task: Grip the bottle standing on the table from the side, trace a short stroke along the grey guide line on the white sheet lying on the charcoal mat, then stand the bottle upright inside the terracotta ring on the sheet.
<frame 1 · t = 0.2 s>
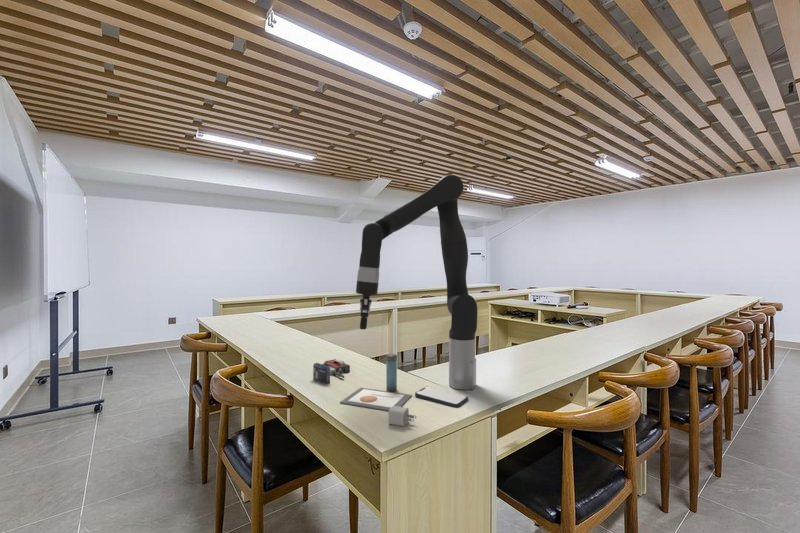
hand: (363, 327, 123), 22 cm above the table, tool pointing down, fingers open, 8 cm apart
writing mat: (376, 399, 115), on the table
mini dv tape: (321, 381, 133), on the table
bottle: (391, 389, 124), on the table
usb wall charger: (403, 424, 97), on the table
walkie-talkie: (338, 373, 144), on the table
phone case: (441, 399, 116), on the table
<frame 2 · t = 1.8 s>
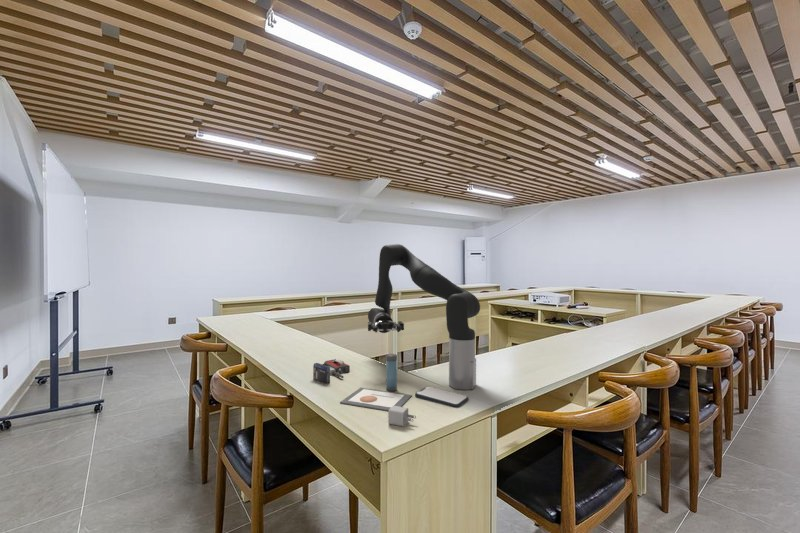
hand: (387, 329, 134), 19 cm above the table, tool horizontal, fingers open, 8 cm apart
nothing on the table moved.
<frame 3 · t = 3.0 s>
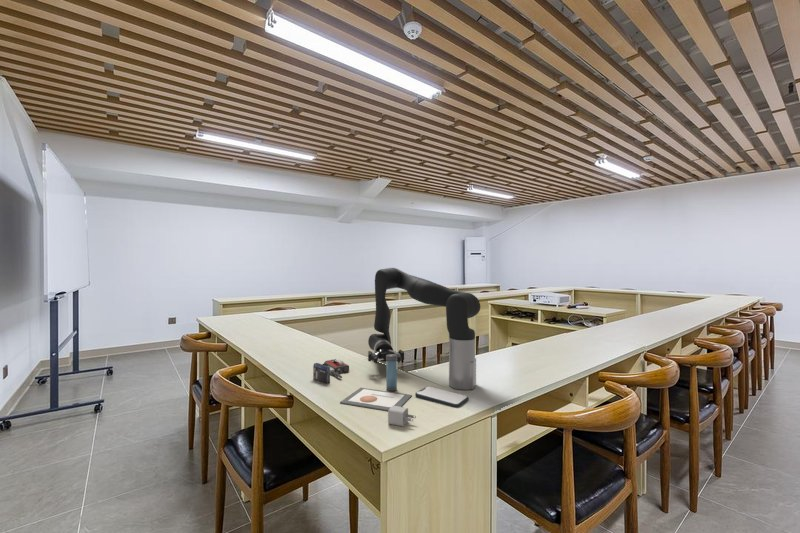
hand: (387, 360, 134), 7 cm above the table, tool horizontal, fingers open, 8 cm apart
nothing on the table moved.
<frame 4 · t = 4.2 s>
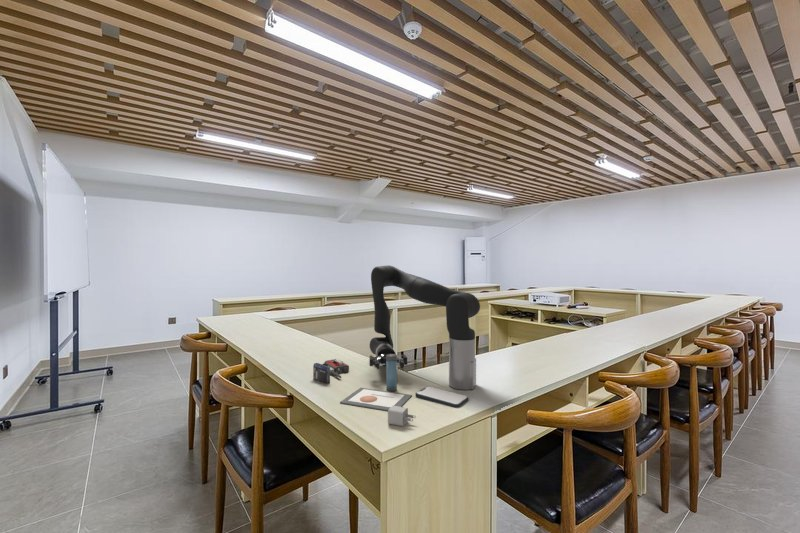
hand: (390, 365, 128), 7 cm above the table, tool horizontal, fingers open, 8 cm apart
nothing on the table moved.
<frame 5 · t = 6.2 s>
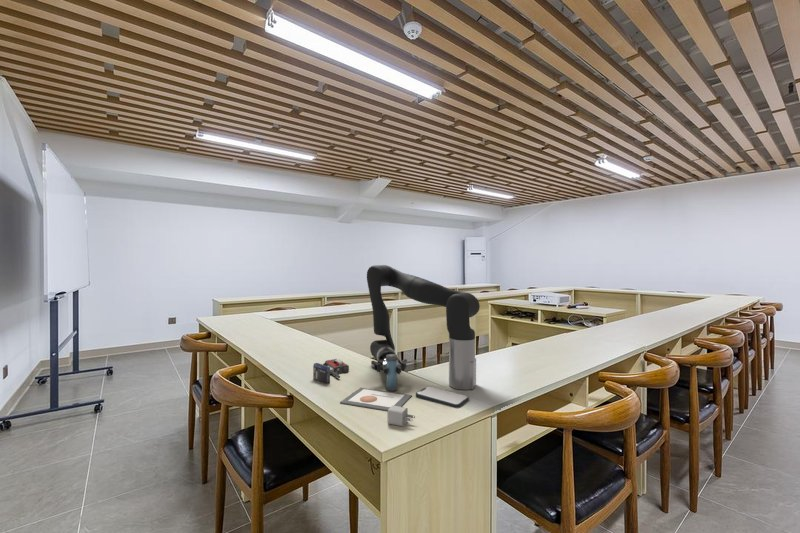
hand: (392, 371, 121), 7 cm above the table, tool horizontal, fingers closed on bottle, 3 cm apart
bottle: (391, 389, 124), on the table, touching gripper
everything else where it was.
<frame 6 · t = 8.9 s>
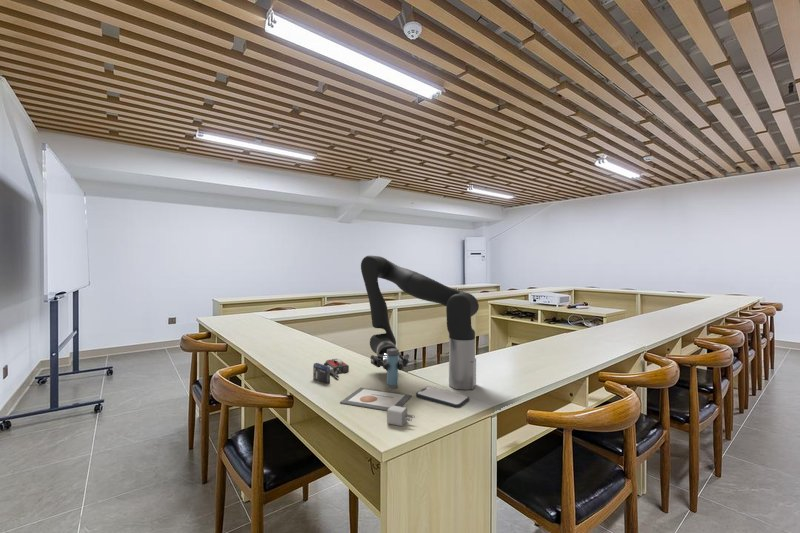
hand: (393, 367, 112), 11 cm above the table, tool horizontal, fingers closed on bottle, 3 cm apart
bottle: (392, 386, 115), point 4 cm above the table, touching gripper
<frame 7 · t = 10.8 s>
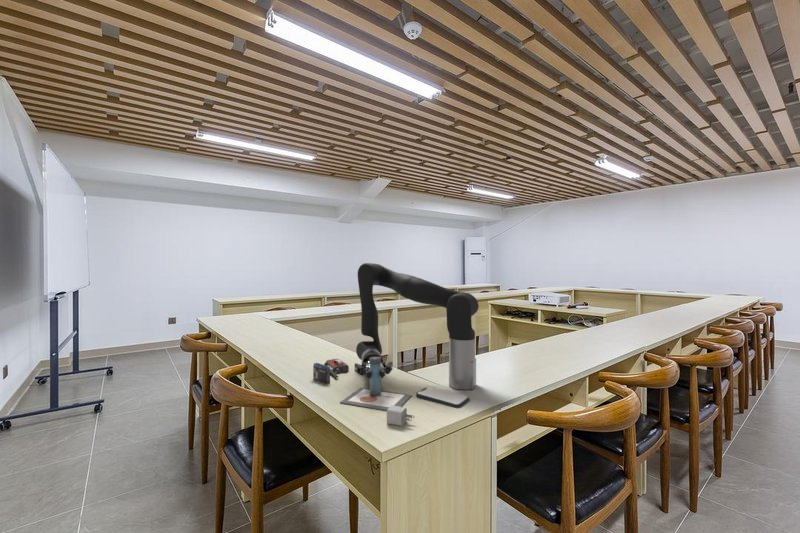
hand: (375, 375, 114), 8 cm above the table, tool horizontal, fingers closed on bottle, 3 cm apart
bottle: (375, 394, 117), point 1 cm above the table, touching gripper
when the fingers open (9 cm above the table, at t = 13.1 s): bottle stays where it is, resting on writing mat.
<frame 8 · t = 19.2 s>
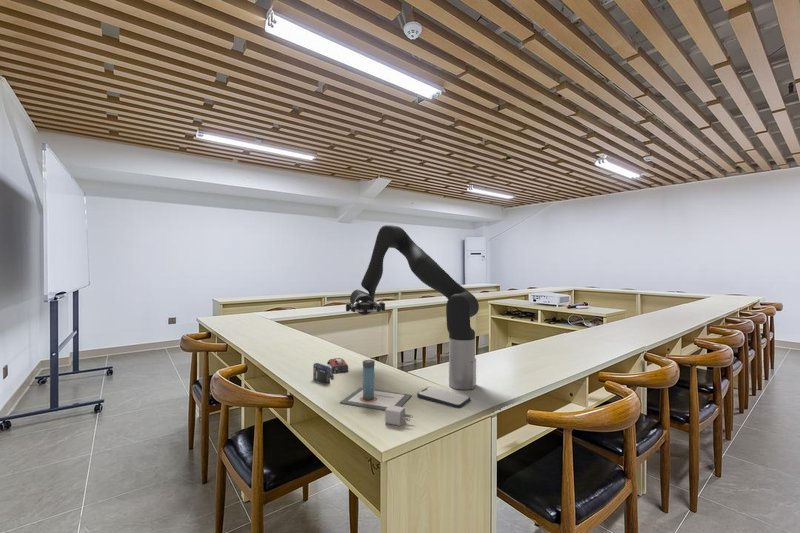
hand: (366, 309, 124), 28 cm above the table, tool horizontal, fingers open, 8 cm apart
bottle: (368, 398, 114), point 1 cm above the table, touching writing mat
at the end: bottle 0.0 cm from the target spot on the writing mat, point 0.7 cm above the writing mat's base; bottle tilted 1°; the gripper is holding nothing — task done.
